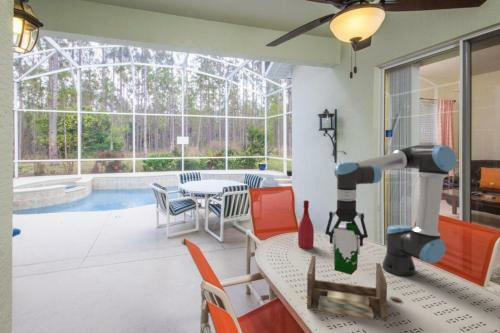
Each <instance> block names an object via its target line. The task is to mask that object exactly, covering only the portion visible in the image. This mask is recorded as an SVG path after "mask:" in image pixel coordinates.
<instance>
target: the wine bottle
mask: <svg viewBox="0 0 500 333" xmlns="http://www.w3.org/2000/svg"><path fill="white" fill-rule="evenodd" d="M309 202H310V201H309V200H308V199H305V200H303V214H302V217H301V219H300V221H299V224H298V226H297V227H298V229H297V243H298V244H297V245H298V247H300V248H301V249H306V250H310V249H313V247H314V240H315V238H314V237H315V230H314V224H313V222H312V220H311V217H310V214H309V207H310V206H309V205H310V204H309Z"/></svg>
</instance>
